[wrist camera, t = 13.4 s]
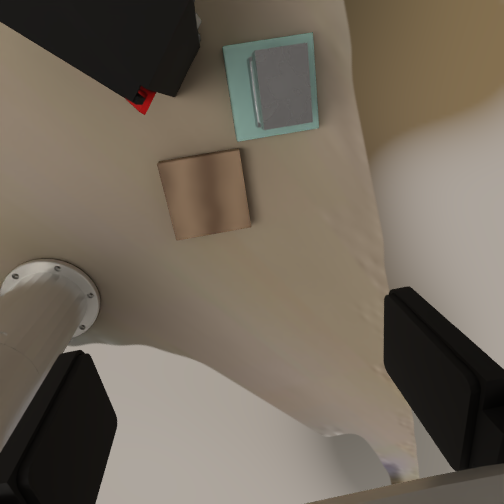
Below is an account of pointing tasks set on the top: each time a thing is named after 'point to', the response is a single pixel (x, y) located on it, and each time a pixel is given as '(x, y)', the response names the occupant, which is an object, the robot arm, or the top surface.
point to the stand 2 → (241, 89)
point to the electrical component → (115, 40)
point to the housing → (280, 86)
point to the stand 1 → (205, 193)
